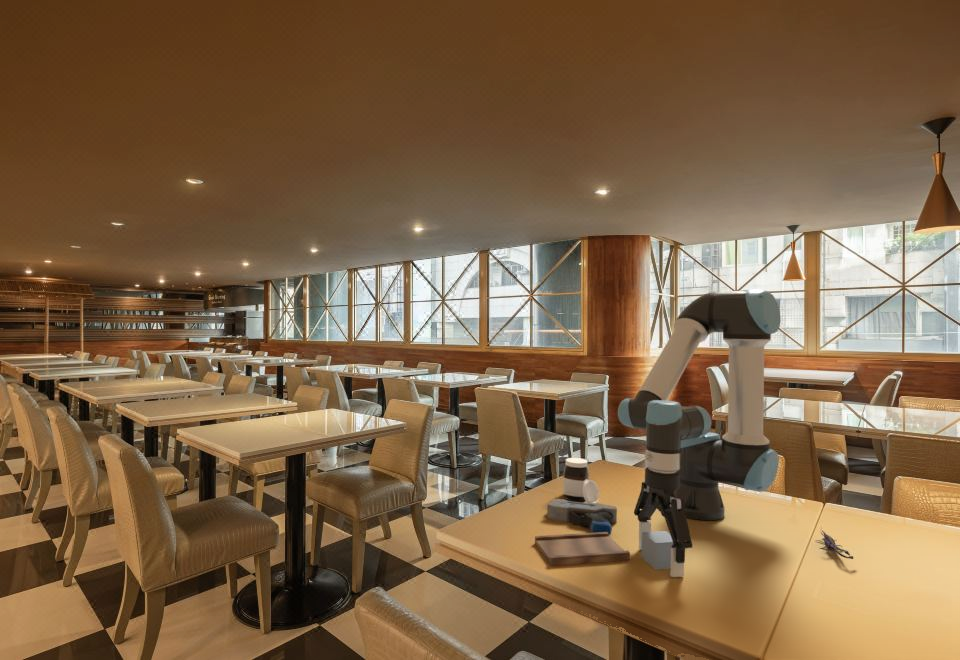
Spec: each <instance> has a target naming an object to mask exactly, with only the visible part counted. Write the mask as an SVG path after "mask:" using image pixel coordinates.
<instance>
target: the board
mask: <svg viewBox="0 0 960 660" xmlns="http://www.w3.org/2000/svg"><path fill="white" fill-rule="evenodd" d="M534 544H535V546H536V547H537V548H539V549H538V551H540V553H541V552H542V553H541V554H542V556H543V555H544V556H543V557H544V559H545V560H546V559H547V560H546V561H547V563H548V564H549V566H551V567H554V566H568V565H581V564H582V565H583V564H585V565H587V564H597V563H612V562H625V561H630V560H631V559H630V558H631V552H630V551H629V550H625V549H624V548H622V546H621V545H619V544H618V543H617V542H616V541H615V540H614V539H613V538H612V537H611V536H610V535H609V533H608V532H597V533H592V532H584V533H583V532H581V533H567V534H552V535H551V534H549V535H535V536H534Z"/></svg>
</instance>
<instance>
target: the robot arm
mask: <svg viewBox="0 0 960 660" xmlns="http://www.w3.org/2000/svg"><path fill="white" fill-rule="evenodd" d="M780 325H781V310H780V307H779V303H778V302H777V299H776V297H775V296H774V295H773V294H772V293H771V292H770V291H769V290H764V289H763V290H762V289H743V290H742V289H741V290H729V291H728V290H726V291H719V290H718V291H710V292H707V293H705V294H703V295H700V296H699V297H697V298H696V299H694V300H693V301H691V302H690V303H688V305H687V306H686V307H684V308H683V310H682V311H681V312H680V314H679V315H678V317H677V318H676V319H675V322H674V323H673V332H672V334H671V335H670V337H669V338H668V340H667V343H666V344H665V345H664V347H663V349H662V351H661V353H660V354H659V356H658V357H657V359H656V361H655V363H654V364H653V366H652V368H651V369H650V371H649V373H648V374H647V376H646V378H645V379H644V381H643V383H642V384H641V387H640V388H639V390H638V392H636V395H635V396H634V398H633V397H631V398H628V397H627V398H625V399H623V400H621V402H620V403H619V405H618V409H617V418H618V420H619V421H620V423H621V424H622V425H623V426H625V427H628V428H632V429H635V430H642V431H645V432H646V433H645V434H646V435H645V438H646V439H645V440H646V441H645V455H644V458H645V464H644V465H645V466H646V467H645V469H644V481H642V482H641V486H640V487H641V489H640V492H639V495H638V498H637V502H636V503H635V504H636V505H635V507H634V510H633V514H634V516H637V520H638V522H639V523H638V550H639V551H642V532H652V522H651V521H652V518H651V517H652V516H653V515H654V513H655V512H656V510H658V511H659V512H660V515H661V516H662V517H663V518H664V520H665V523H666V526H667V530H668V533H669V534H670V535H671V538H672V541H673V545H671V569H670V577H672V578H679V577H681V578H682V577H685V575H684V573H685V572H684V571H685V561H686V560H685V558H686V549H690V548H693V542H692V537H691V533H690V528H689V524H688V519H692V518H693V519H694V520H698V519H700V520H701V521H717V519H718V520H721V519H723V518H725V512H726V511H725V505H724V502H723V498H722V495H721V493H720V490H719V489H720V488H719V483H721V484H725V485H730V486H733V487H737V488H740V489H744V490H746V491H753V492H758V493H759V492H760V493H762V492H765V491H767V490H768V489H770V487H771V486H772V485H773V484H774V482H775V480H776V477H777V474H778V471H779V465H780V458H779V456H778V455H779V453H778V452H777V451H775V449H772V448H770V446H771V445H770V442H771V441H770V440H769V438H767V437H766V435H764V399H765V396H764V395H765V394H764V393H765V392H764V391H765V385H764V384H765V346H766V345H767V344H768V343H769V342H770V341H771V340H772V334H775V333H777V332H778V331H779V329H780ZM713 333H722V340H723V341H724V342H725V343H726V344H727V346H728V393H727V394H728V398H727V401H728V403H727V404H728V405H727V409H728V410H727V412H728V413H727V432H726V433H724V434H723V435H722V436H720V434H719V433H716V432H710V430H711V428H712V424H713V423H712V418H711V415H710V413H709V412H708V411H707V409H705V408H703V407H702V406H698V405H687V406H682V405H681V403H680V402H679V401H678V402H677V401H672V400H669V399H670V397H671V395H672V393H673V391H674V389H675V388H676V386H677V384H678V383H679V381H680V379H681V377H682V375H683V374H684V372H685V370H686V368H687V366H688V364H689V363H690V361H691V359H692V357H694V354H695V352H696V350H697V349H698V346H699V344H700V343H703V342H705V341H706V339H708V336H709V335H710V334H713ZM687 518H688V519H687ZM700 520H699V521H700ZM677 540H678V541H677Z"/></svg>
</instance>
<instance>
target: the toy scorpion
mask: <svg viewBox="0 0 960 660" xmlns="http://www.w3.org/2000/svg"><path fill="white" fill-rule="evenodd" d="M820 529H821V531H820V534H821V535H822V536H823V537H822V540H821V539H819V540H817V539H816V540H815V542H820V543H823V544H825V546H823V547H822V549H824V548H826V547H830V548H833V550H834V552H835V554H836V555H838V556H840V557H843V558H844V559H849V560H854V556H853V555H851V554H850V552H849V550H847V549H843V545H840V544H837V545H836V541H837V539H833V538H832V536H830V535H829V534H827V533H826V532H825V531H824V530H823V528H822V527H820ZM840 547H841V548H840ZM840 551H842V552H844V553H845V555H844V554H842V553H841V552H840ZM846 555H848V556H846Z"/></svg>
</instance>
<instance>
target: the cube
mask: <svg viewBox="0 0 960 660" xmlns="http://www.w3.org/2000/svg"><path fill="white" fill-rule="evenodd" d="M677 541H678V540H677ZM671 545H673V541H672V538H671V535H670V532H669V531H666V530H657V531H656V530H655V531H651V532H642V550H641V557H642V558H643V559H642V558H641V559H642V560H644V562H646V563H647V564H648V565H649V566H650V567H652V569H654V570H656V571H657V570H668V569H670V568H671Z"/></svg>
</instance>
